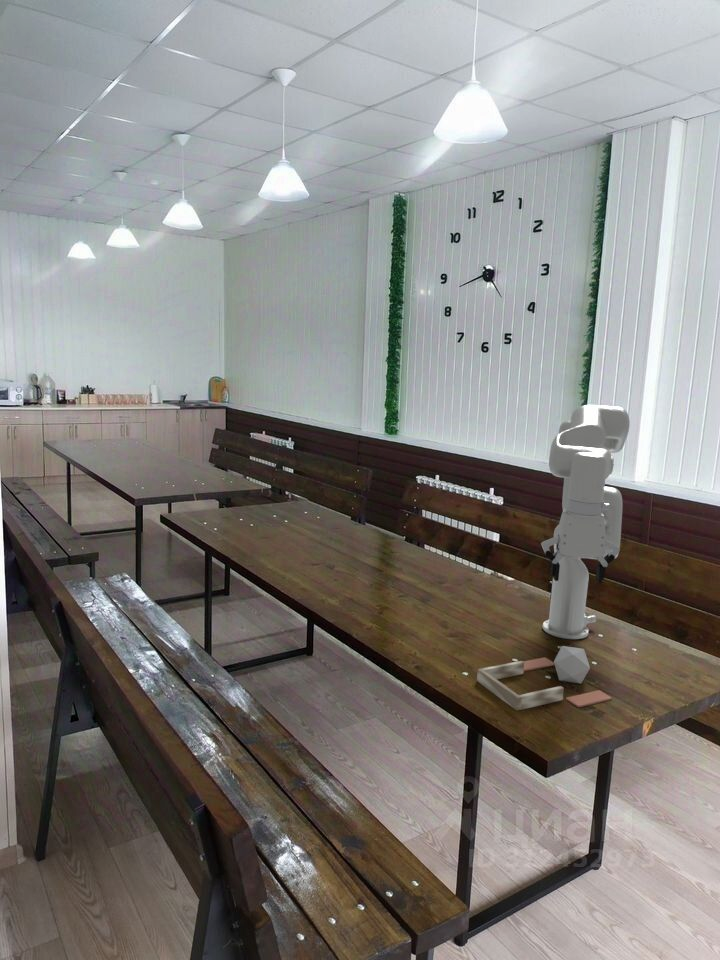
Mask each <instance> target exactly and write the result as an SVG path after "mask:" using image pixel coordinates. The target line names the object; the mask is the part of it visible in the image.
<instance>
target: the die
mask: <svg viewBox="0 0 720 960" xmlns="http://www.w3.org/2000/svg"><path fill="white" fill-rule="evenodd" d="M553 662H554V664H555V665H554V667H555V671H556V674H557V677H558V680H559V681H561V682H568V683H575V684H579V685H580V684H582V683H583V681H584V679H585V678H586V676H587V674H588V673H589V671H590V669H591V666H590V663H589V660H588V657H587V654H586V652H585V648H579V647H572V646H566V645H561V647H560V649H559V651H558V653H557V654H556V656H555V658H554V661H553Z"/></svg>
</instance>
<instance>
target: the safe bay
mask: <svg viewBox="0 0 720 960" xmlns="http://www.w3.org/2000/svg"><path fill="white" fill-rule="evenodd" d="M523 661H524V660H518V661H514V662H508V663H503V664H497V665H492V666H488V667H482V668H478V669H477V675H476V676H477V677H476V682H478V683H479V684H480V685H481V686H483V687H484V688H485V689H487V690H488V691H490V693H492V694H494V695H495V696H497V698H499V699H500V700H502V701H503V702H504V703H506V704H507V705H508V706H510V707H511V708H513V709H514V710H515V711H517V712H518V711H521V710H526V709H530V708H534V707H539V706H542V705H543V706H544V705H547V704H553V703H555V702H561V701H563V700H564V689H565V688H564V687H563V686H562V685H558V686H555V687H550V688H545V689H541V690H535V691H531V692H527V693H523V694H518V693H517V692H515V691H514V690H512V689H511V688H509V687H508V686H507V685H506V684H504V683H502V682H501V681H499V680H500V679H505V678H511V677H514V676H515V677H516V676H520V675H523V674H524V672H525V671H524V662H523Z"/></svg>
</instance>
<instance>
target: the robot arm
mask: <svg viewBox="0 0 720 960" xmlns="http://www.w3.org/2000/svg"><path fill="white" fill-rule="evenodd" d="M628 413H629V412H627V410H626V409H625V408H623V407H621V406H614V405H612V406H610V405H600V404H585V405H580V406H579V407H577V408H575V409H574V411H573V412H572V413H571V417H570V420H566V421H564V422H561V424H560V426H559V429H558V434H557V435H556V436H555V437H554V439H553V440H552V442H551V446H550V451H549V458H548V466H549V471H550V473H551V474H552V475H553V476H555V477H557V478H561V479H563V487H562V500H561V501H562V503H561V506H562V512H561V516H560V519H559V523H558V525H557V526H556V527H555V528H554V531H553V532H554V533H553V537H551V538H549V539H545V540H543V541H542V542H541V543H540V544H541V547H542V549H543V552H544V554H545V555H546V557H547V558H548V559H549V561H551V566H550V576H551V577H552V585H551V595H550V602H549V603H550V605H549V614H548V615H549V616H548V619H547V620H545V621H543V623H542V629H543V631H544V633H547V634H549V635H550V636H553V637H556V638H561V639H566V640H581V639H585V638H587V637H588V636H589V635H590V633H589V632H590V630H589V628H588V627H587V625H588V624H590V623H591V624H592V623H595V622H597V617H596V615H594V614H593V615H588V616H587V615H586V606H587V605H586V604H587V595H588V587H589V577H590V576H589V574H590V573H589V570H588V568H587V567H586V565H585V563H584V562H583V561H582V559H590V560H597V561H598V562H597V563H596V567H595V568H596V569H595V576H594V577H595V578H594V579H595V581H596V582H597V583H598V584H602V583H603V580H604V579H605V575H606V568H607V567H608V565H609V564H610V563H612V562H613V561H614V560H615V559H617V558H618V556H619V553H620V551H621V548H620V547H621V538H622V536H621V535H622V523H623V522H622V521H623V504H624V503H623V497H622V493H621V492H620V490H619V489H617V488H616V487H612V486H605V485H606V484H605V483H606V480H607V479H608V478H609V477H610V475H612V474H613V471H614V465H615V463H614V462H615V460H614V457H613V455H612V454H615V453H619V452H621V450H622V449H623V448H624V446H625V443H626V440H627V437H628V434H629V431H630V425H631V424H630V423H631V422H630V417H629V414H628ZM551 546H553V549H554V550H553V551H554V553H552V552H551V549H550V547H551Z"/></svg>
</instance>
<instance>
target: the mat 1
mask: <svg viewBox="0 0 720 960" xmlns="http://www.w3.org/2000/svg"><path fill="white" fill-rule="evenodd" d="M522 661H523V662H524V671H523V672H528V671H533V670H538V669H543V668H548V667H552V666H553V667H554V666H555V664H554V661H552V660H551V659H549V658H547V657H545V656H544V657H540V658H533V659H530V660H529V659H528V660H522Z"/></svg>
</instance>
